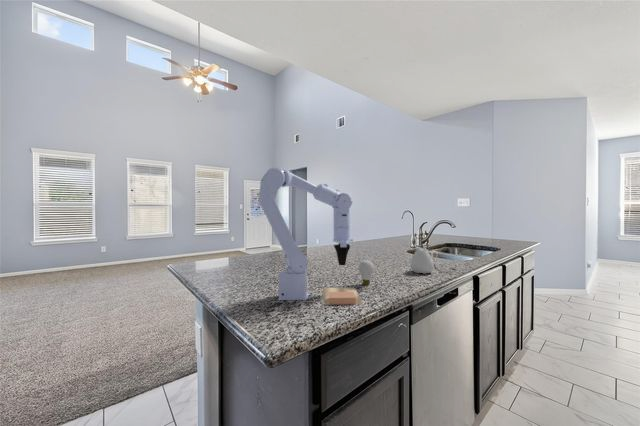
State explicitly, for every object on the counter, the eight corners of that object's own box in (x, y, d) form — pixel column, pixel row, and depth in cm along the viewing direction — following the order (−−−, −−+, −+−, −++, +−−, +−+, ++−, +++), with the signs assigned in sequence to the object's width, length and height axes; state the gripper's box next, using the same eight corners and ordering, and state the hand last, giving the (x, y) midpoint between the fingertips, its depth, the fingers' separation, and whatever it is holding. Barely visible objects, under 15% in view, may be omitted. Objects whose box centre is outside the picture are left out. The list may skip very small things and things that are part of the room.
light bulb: (374, 288, 101) (373, 261, 101) (358, 287, 102) (357, 261, 102) (374, 284, 107) (373, 259, 107) (359, 283, 108) (358, 258, 108)
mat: (323, 306, 82) (323, 304, 82) (322, 289, 100) (322, 287, 100) (362, 306, 82) (362, 304, 82) (354, 289, 100) (354, 287, 100)
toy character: (433, 270, 129) (433, 245, 129) (434, 275, 120) (433, 248, 120) (411, 269, 133) (410, 245, 133) (409, 273, 124) (409, 247, 124)
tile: (329, 298, 88) (329, 304, 82) (329, 292, 88) (329, 297, 82) (353, 297, 88) (355, 304, 82) (353, 291, 88) (355, 297, 82)
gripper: (355, 228, 89) (355, 269, 89) (350, 225, 104) (350, 260, 104) (334, 228, 89) (334, 269, 89) (332, 225, 104) (332, 261, 104)
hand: (342, 264), depth 96 cm, fingers closed
